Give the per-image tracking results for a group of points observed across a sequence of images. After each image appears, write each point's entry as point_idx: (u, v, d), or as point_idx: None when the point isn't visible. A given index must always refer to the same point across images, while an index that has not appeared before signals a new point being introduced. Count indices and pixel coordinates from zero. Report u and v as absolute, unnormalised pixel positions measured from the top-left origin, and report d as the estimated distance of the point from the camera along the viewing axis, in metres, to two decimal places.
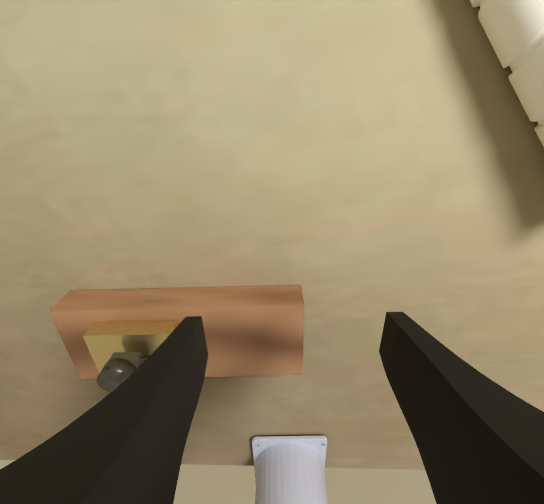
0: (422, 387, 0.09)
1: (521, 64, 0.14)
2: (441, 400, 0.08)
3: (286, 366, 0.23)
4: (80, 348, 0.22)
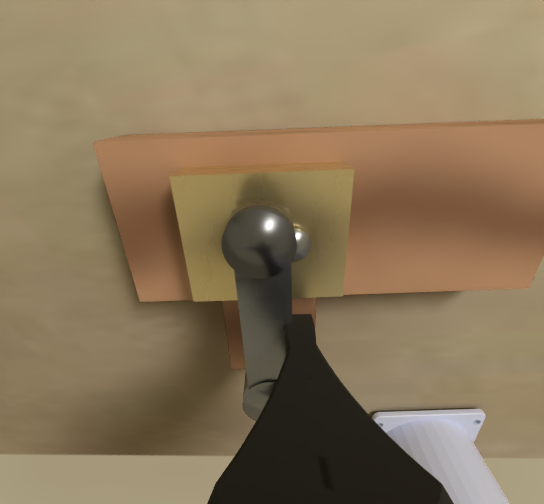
0: None
1: None
2: None
3: (509, 269, 0.13)
4: (146, 234, 0.12)
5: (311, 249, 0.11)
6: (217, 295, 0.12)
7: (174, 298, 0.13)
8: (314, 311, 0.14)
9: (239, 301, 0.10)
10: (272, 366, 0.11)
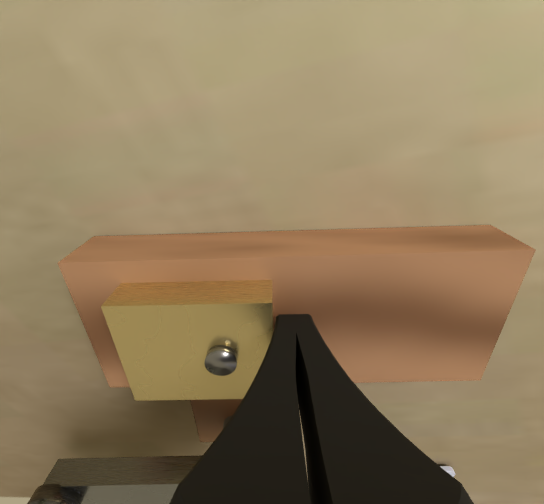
0: (303, 389, 0.09)
1: None
2: (308, 402, 0.08)
3: (459, 365, 0.13)
4: None
5: (240, 362, 0.11)
6: (157, 396, 0.12)
7: None
8: None
9: None
10: None
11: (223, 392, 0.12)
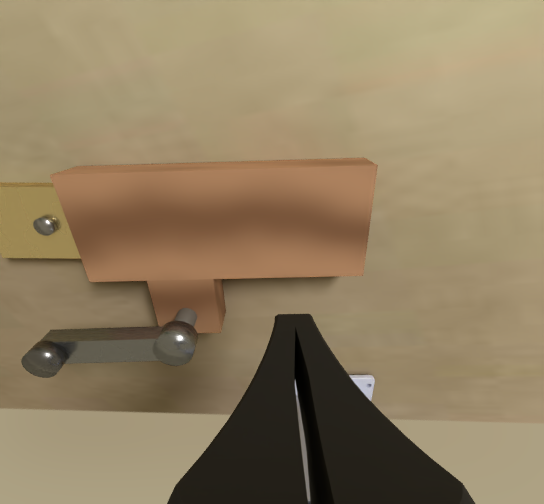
0: (305, 389, 0.09)
1: None
2: (309, 402, 0.08)
3: (344, 262, 0.18)
4: (89, 234, 0.18)
5: (59, 230, 0.19)
6: (15, 254, 0.20)
7: (113, 280, 0.19)
8: (213, 290, 0.19)
9: (94, 362, 0.18)
10: (139, 349, 0.18)
11: (55, 252, 0.20)
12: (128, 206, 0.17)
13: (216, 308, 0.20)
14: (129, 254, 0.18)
